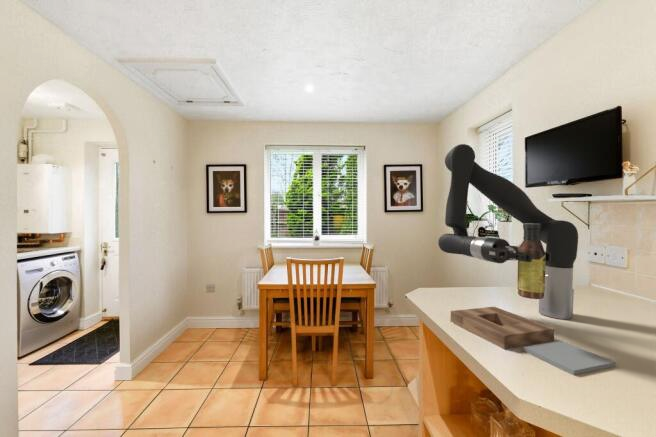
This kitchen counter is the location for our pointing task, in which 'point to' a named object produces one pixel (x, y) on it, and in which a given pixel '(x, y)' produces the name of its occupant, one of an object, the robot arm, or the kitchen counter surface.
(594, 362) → the grey mat
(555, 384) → the kitchen counter surface
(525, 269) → the sauce bottle
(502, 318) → the seat block
